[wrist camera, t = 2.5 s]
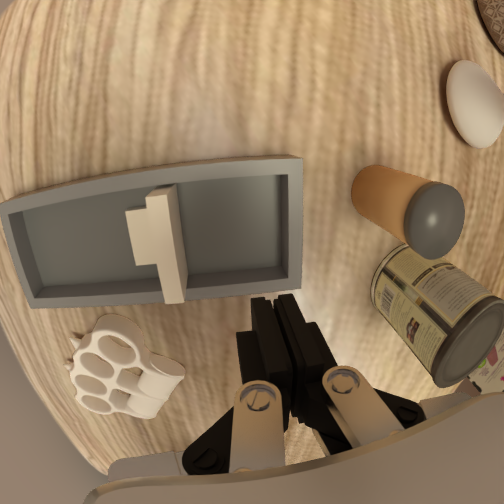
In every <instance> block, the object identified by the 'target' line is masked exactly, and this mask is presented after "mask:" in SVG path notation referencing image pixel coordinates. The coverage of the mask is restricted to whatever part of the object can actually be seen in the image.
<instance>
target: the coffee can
mask: <svg viewBox="0 0 504 504" xmlns="http://www.w3.org/2000/svg"><path fill="white" fill-rule="evenodd" d="M371 299H372V303H373V305H374V306H375V308H376V309H377V310H378V311H379V312H380V313H381V314H382V315H383V316H384V318H385V319H386V320H387V321H388V322H389V324H390V325H391V326H392V327H393V328H394V330H395V331H396V332H397V333H398V335H399V336H400V337H401V338H402V339H403V341H404V342H405V343H406V344H407V346H408V347H409V348H410V349H411V351H412V352H413V353H414V355H415V356H416V357H417V358H418V360H419V361H420V362H421V363H422V365H423V366H424V367H425V369H426V370H427V371H428V372H429V374H430V375H431V376H432V378H433V381H434V383H435V384H436V385H437V386H438V387H439V388H446V387H450V386H452V385H454V384H456V383H458V382H460V381H461V380H463V379H464V378H466V377H467V376H468V375H470V374H471V373H472V372H473V371H474V370H475V369H476V368H477V367H478V366H479V365H480V364H481V363H482V362H483V361H484V359H485V358H486V357H487V356H488V355H489V353H490V352H491V350H492V349H493V347H494V346H495V344H496V342H497V341H498V339H499V337H500V335H501V333H502V331H503V328H504V300H502V299H501V298H498V297H496V296H495V295H494V294H492V293H491V292H490V291H489V290H487V289H486V288H485V287H483V286H482V285H481V284H479V283H478V282H477V281H475V280H474V279H472V278H471V277H470V276H468V275H467V274H465V273H464V272H463V271H461V270H460V269H458V268H457V267H456V266H454V265H453V264H451V263H450V262H448V261H447V260H445V259H444V258H442V257H441V258H438V259H435V260H428V259H425V258H423V257H422V256H420V255H419V254H418V253H416V252H415V251H413V250H412V249H411V248H410V247H409V246H408V245H407V244H403V245H401V246H399V247H398V248H396V249H395V250H393V251H392V252H391V253H390V254H389V255H388V256H387V257H386V258H385V259H384V260H383V261H382V263H381V264H380V266H379V267H378V269H377V271H376V273H375V275H374V278H373V282H372V286H371Z"/></svg>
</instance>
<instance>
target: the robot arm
mask: <svg viewBox="0 0 504 504" xmlns="http://www.w3.org/2000/svg"><path fill="white" fill-rule="evenodd" d="M251 316H252V331H244V332H236V338H237V348H238V356H239V364H240V371H241V377H242V384H243V385H242V386H241V387H240V388H239V389H238V390H237V392H236V395H235V400H234V406H233V407H232V408H231V409H230V410H229V411H228V412H227V413H226V414H225V415H224V416H222V417H221V418H220V419H219V420H218V421H217V422H216V423H215V424H214V425H213V426H212V427H210V428H209V429H208V430H207V431H206V432H205V433H204V434H203V435H201V436H200V437H199V438H198V439H197V440H196V441H194V442H193V443H192V444H191V445H190V446H189V447H188V448H187V449H186V450H185V451H181V452H176V453H174V451H170V452H164V453H159V454H153V455H146V456H139V457H132V458H123V459H119V460H116V461H115V462H113V463H112V464H111V465H110V467H109V469H108V479H109V483H106V484H104V485H102V486H99V487H97V488H95V489H93V490H92V491H91V492H90V493H89V494H88V495H87V496H86V498H85V500H84V502H83V504H504V392H492V393H486V394H482V395H478V396H475V397H473V398H471V397H470V396H469V395H468V394H466V393H463V392H456V393H452V394H448V395H444V396H439V397H434V398H429V399H424V400H420V402H419V403H416V402H413V401H411V400H408V399H405V398H402V397H399V396H396V395H393V394H390V393H387V392H384V391H381V390H378V389H375V388H372V386H371V385H370V384H369V383H368V381H367V380H366V379H365V377H364V376H363V375H362V374H361V373H360V372H359V371H358V370H357V369H355V368H353V367H349V366H338V365H337V363H336V361H335V359H334V357H333V355H332V353H331V351H330V349H329V347H328V345H327V343H326V341H325V339H324V337H323V335H322V333H321V331H320V329H319V327H318V325H317V324H316V322H310V323H306V322H305V319H304V317H303V315H302V313H301V311H300V309H299V307H298V304H297V302H296V300H295V298H294V296H293V294H292V293H291V294H283V295H278V299H274V301H273V307H272V304H271V301H270V300H265V297H258V298H251ZM290 411H291V415H292V417H297V418H298V421H299V424H300V423H305V425H306V426H308V427H310V428H312V431H313V434H314V436H315V438H316V440H317V442H318V443H319V445H320V447H321V449H322V451H323V452H324V454H325V456H326V457H323V458H319V459H315V460H311V461H306V462H302V463H297V464H292V465H287V466H286V465H285V447H284V433H285V431H286V430H287V429H288V423H289V413H290Z"/></svg>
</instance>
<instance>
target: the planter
mask: <svg viewBox="0 0 504 504" xmlns="http://www.w3.org/2000/svg"><path fill="white" fill-rule="evenodd" d="M477 3H478V7H479V11H480V14H481V16H482V19H483V21H484V23H485V25H486V27H487V29H488V31H489V33H490V35H491V37H492V38H493V40H494V42H495V43H496V45H497V46H498V47H499V49H500V50H501V51H502V52H503V53H504V0H477Z"/></svg>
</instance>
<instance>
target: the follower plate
mask: <svg viewBox="0 0 504 504" xmlns="http://www.w3.org/2000/svg"><path fill="white" fill-rule="evenodd" d="M145 199H146V206H142V207H135V208H128V209H127V210H126V211H125V213H126V219H127V224H128V230H129V235H130V240H131V245H132V249H133V254H134V259H135V263H136V266H138V265H148V264H157V268H158V273H159V278H160V282H161V287H162V291H163V296H164V300H165V304H177V303H184V301H185V293H186V286H187V279H188V268H187V262H186V255H185V249H184V242H183V235H182V228H181V220H180V212H179V204H178V196H177V187H176V183H172V184H164V185H158V186H157V187H155V188H154V189H153V190H152V191H151V192H150V193H149V194H148V195H147V196H146V197H145Z"/></svg>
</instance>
